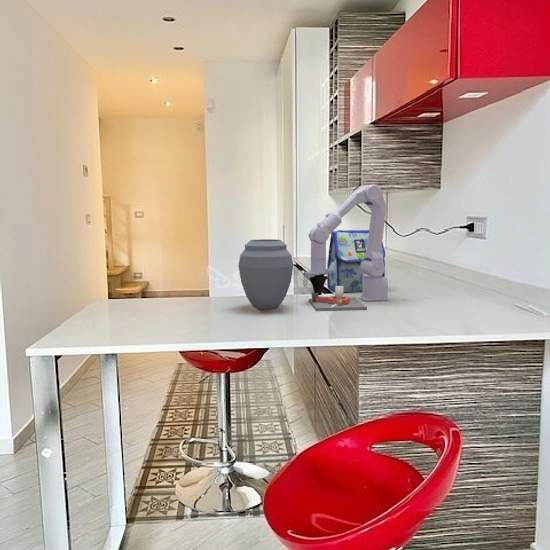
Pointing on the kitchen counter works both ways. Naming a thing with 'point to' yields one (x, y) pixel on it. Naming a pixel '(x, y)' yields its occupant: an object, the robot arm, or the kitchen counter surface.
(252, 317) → the kitchen counter surface
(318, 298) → the square frame with handle
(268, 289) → the vase
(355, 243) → the lunch bag
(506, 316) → the kitchen counter surface
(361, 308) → the station
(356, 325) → the kitchen counter surface
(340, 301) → the tan tapered cylinder
